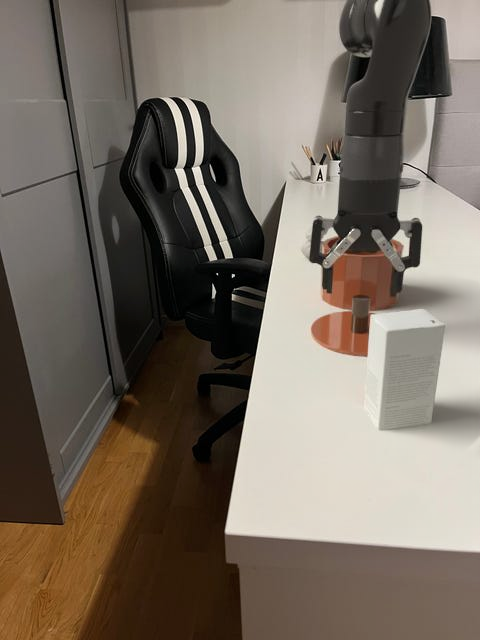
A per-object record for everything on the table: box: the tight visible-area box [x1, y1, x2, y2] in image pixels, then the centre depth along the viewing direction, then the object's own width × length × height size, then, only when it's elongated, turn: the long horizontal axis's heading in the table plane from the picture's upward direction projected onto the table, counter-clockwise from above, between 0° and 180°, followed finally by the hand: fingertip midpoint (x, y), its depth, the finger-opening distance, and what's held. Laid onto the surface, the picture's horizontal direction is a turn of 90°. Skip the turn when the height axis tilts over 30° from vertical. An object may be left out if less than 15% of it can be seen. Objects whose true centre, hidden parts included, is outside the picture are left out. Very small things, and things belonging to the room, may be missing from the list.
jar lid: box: [310, 295, 377, 357], centre depth 71 cm, size 14×14×6 cm
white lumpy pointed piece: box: [300, 225, 325, 260], centre depth 104 cm, size 5×7×8 cm
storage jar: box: [319, 235, 405, 312], centre depth 83 cm, size 13×13×10 cm
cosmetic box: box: [363, 308, 446, 431], centre depth 51 cm, size 6×4×12 cm
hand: (360, 293), depth 69 cm, fingers open, 8 cm apart
